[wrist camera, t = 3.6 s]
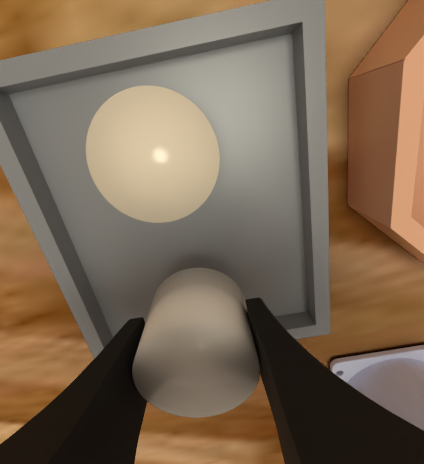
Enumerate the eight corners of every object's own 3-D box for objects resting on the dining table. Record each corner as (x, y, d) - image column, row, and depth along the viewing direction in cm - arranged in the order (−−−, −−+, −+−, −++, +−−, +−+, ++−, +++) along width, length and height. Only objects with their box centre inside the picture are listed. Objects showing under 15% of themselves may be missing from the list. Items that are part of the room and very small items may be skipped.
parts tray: (316, 310, 17) (330, 333, 15) (111, 344, 17) (100, 371, 15) (303, 12, 11) (324, -12, 9) (-5, 79, 11) (-46, 70, 10)
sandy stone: (222, 188, 13) (229, 210, 9) (135, 205, 13) (111, 232, 10) (205, 88, 11) (205, 71, 8) (105, 109, 11) (63, 101, 8)
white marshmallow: (250, 336, 13) (266, 407, 10) (165, 350, 13) (151, 425, 10) (238, 259, 11) (251, 314, 8) (141, 276, 12) (114, 336, 8)
